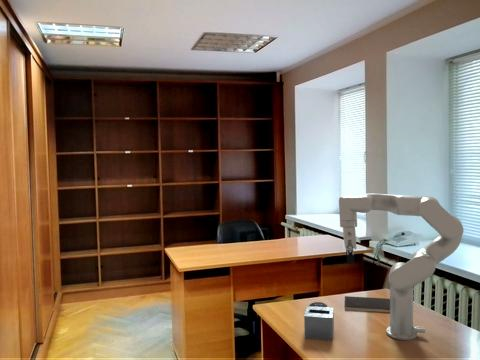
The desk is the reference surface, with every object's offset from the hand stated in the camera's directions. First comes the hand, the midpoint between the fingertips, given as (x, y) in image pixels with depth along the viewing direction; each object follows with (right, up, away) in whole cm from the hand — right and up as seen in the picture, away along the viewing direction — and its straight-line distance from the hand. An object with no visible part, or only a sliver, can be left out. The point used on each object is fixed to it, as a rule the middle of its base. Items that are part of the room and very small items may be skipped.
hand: (350, 260), depth 193 cm
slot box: (-15, -32, -3) cm, 35 cm away
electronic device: (-11, -31, +23) cm, 40 cm away
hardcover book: (+16, -30, +29) cm, 44 cm away
